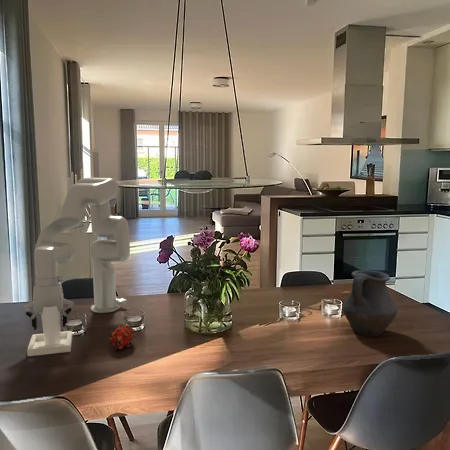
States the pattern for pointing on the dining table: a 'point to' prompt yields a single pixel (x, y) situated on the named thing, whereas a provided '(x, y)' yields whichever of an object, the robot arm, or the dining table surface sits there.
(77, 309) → the dining table surface
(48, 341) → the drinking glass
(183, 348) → the dining table surface
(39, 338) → the tray
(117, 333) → the dragon fruit
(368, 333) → the pitcher
